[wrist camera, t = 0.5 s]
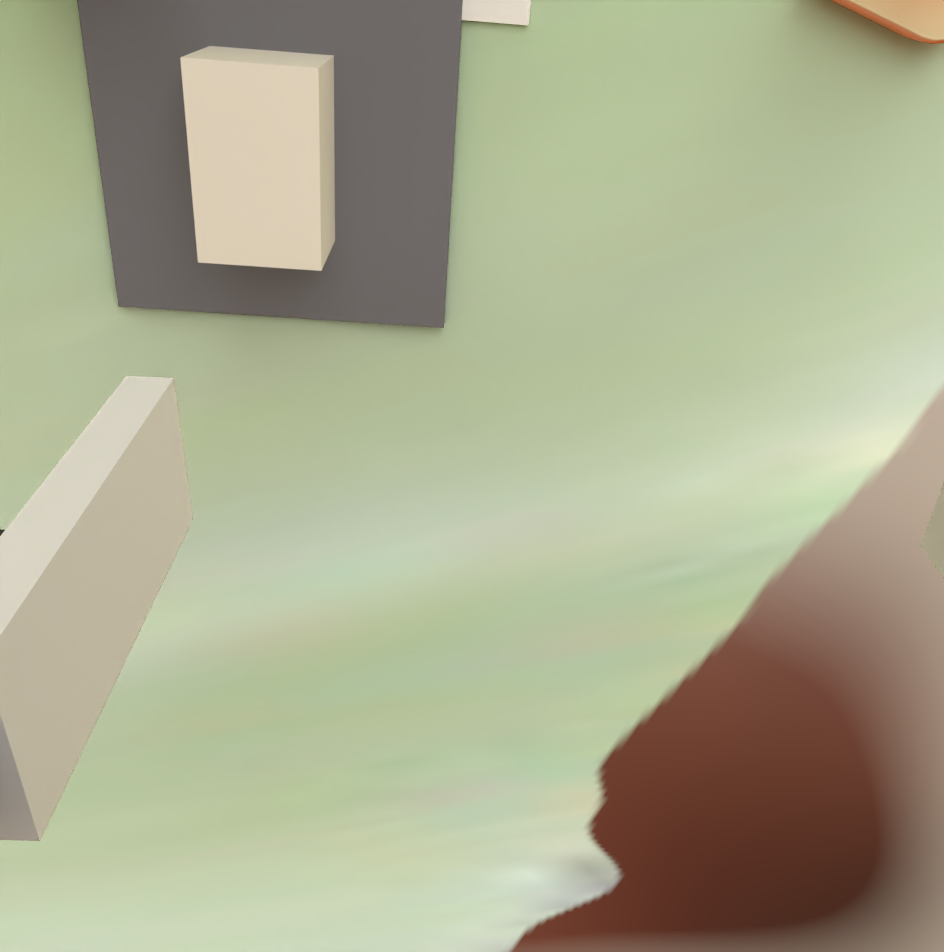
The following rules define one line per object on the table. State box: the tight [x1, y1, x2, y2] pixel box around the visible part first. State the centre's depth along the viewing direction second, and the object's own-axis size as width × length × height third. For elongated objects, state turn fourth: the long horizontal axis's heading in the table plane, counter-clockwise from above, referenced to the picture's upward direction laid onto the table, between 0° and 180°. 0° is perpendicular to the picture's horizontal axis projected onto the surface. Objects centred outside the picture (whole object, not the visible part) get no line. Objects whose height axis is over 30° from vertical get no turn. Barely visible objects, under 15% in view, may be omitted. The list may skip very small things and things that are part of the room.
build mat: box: [77, 0, 463, 328], centre depth 34 cm, size 14×14×4 cm
